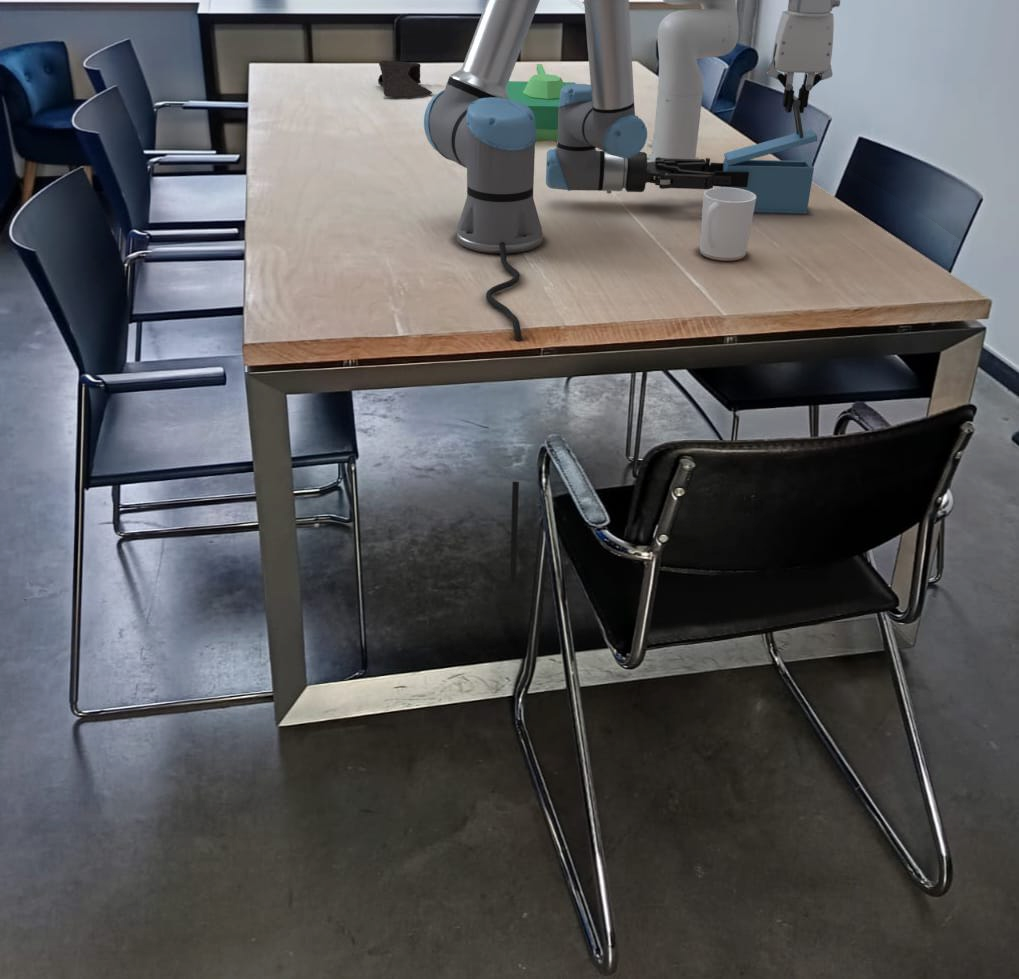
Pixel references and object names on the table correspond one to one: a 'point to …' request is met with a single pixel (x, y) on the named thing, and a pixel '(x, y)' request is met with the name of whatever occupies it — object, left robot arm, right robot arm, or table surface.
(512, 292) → the table surface
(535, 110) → the toy tank
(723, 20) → the right robot arm
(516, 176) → the left robot arm
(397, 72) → the axe head
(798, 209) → the chest
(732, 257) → the mug
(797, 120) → the lid
